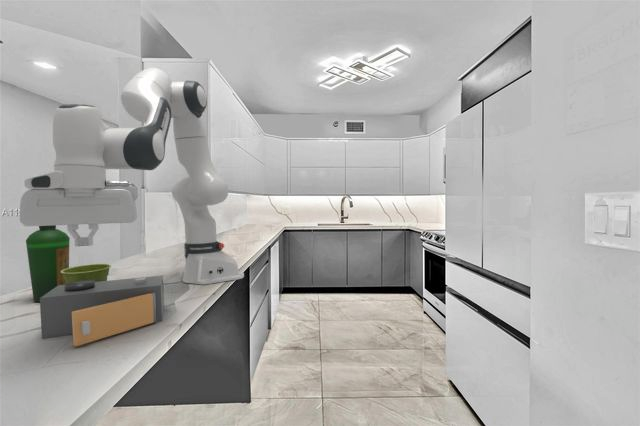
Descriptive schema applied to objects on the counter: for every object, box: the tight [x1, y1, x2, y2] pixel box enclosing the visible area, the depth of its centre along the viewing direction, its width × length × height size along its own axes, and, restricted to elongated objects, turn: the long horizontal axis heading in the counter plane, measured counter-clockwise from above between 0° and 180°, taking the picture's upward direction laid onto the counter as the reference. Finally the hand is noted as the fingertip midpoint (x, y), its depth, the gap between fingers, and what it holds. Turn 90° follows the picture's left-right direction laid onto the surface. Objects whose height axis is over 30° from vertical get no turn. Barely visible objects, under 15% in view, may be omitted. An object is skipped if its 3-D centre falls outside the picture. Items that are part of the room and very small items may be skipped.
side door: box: [72, 293, 157, 347], centre depth 74 cm, size 17×2×7 cm, turn 143°
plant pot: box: [61, 263, 112, 284], centre depth 94 cm, size 12×12×11 cm
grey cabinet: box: [39, 275, 165, 339], centre depth 83 cm, size 24×12×10 cm, turn 113°
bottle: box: [25, 225, 71, 303], centre depth 103 cm, size 11×11×28 cm
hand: (84, 245), depth 71 cm, fingers closed
